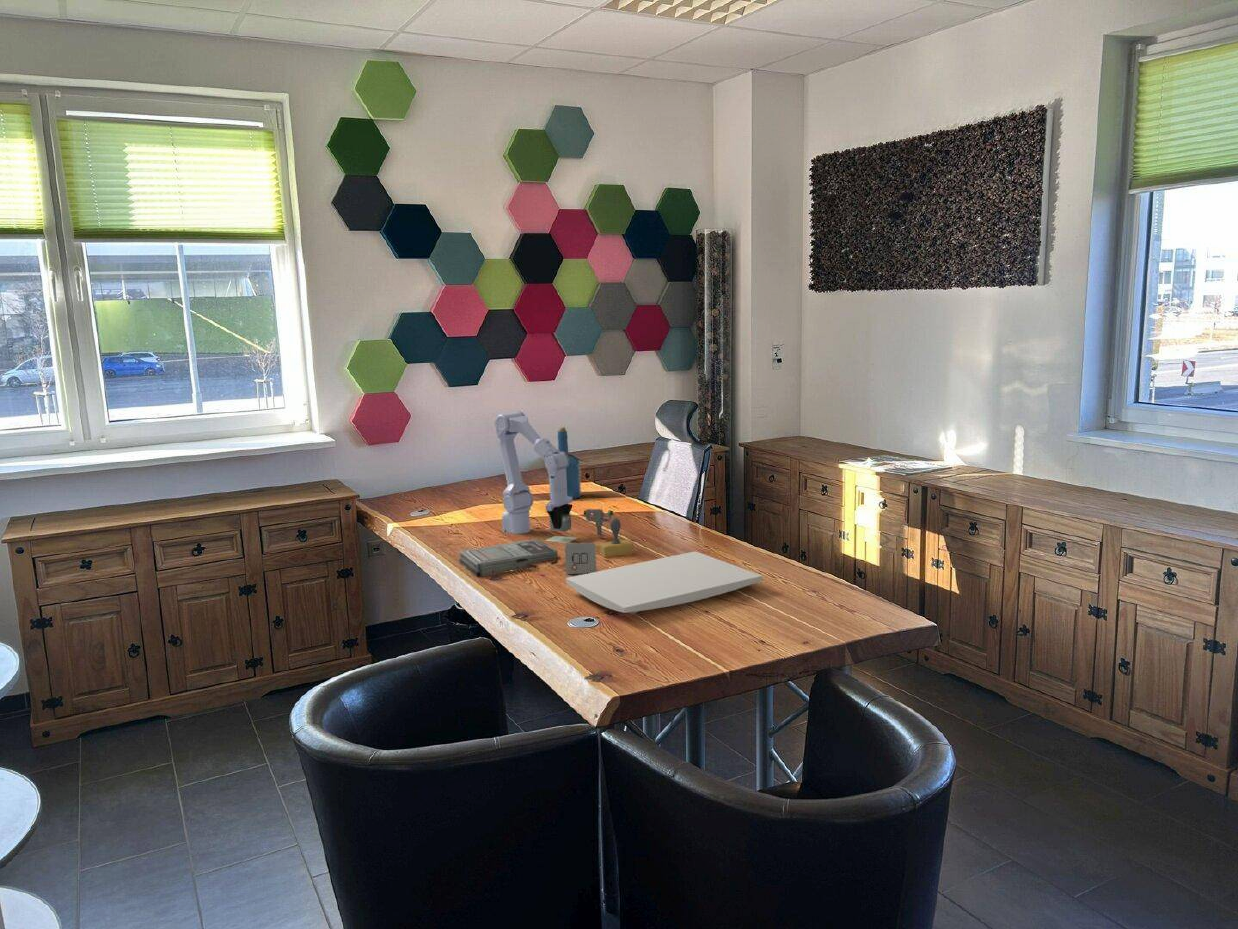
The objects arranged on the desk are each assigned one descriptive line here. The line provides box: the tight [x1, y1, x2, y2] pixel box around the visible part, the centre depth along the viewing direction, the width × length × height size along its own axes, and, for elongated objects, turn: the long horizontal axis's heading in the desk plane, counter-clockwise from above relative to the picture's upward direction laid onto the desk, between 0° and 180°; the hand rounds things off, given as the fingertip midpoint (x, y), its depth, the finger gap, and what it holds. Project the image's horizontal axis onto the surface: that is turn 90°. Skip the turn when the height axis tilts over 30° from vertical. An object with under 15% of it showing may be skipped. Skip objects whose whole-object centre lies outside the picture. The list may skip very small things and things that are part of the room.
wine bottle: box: [548, 426, 582, 500], centre depth 389 cm, size 14×13×30 cm
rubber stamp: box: [598, 517, 634, 558], centre depth 301 cm, size 10×6×12 cm, turn 109°
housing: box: [549, 513, 572, 532], centre depth 316 cm, size 6×4×5 cm, turn 63°
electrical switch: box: [564, 542, 597, 575], centre depth 282 cm, size 9×5×9 cm, turn 90°
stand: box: [544, 535, 578, 544], centre depth 317 cm, size 9×7×2 cm
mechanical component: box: [583, 508, 614, 536], centre depth 322 cm, size 3×10×10 cm, turn 79°
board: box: [565, 551, 763, 615], centre depth 260 cm, size 45×32×5 cm
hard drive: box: [459, 538, 559, 578], centre depth 295 cm, size 18×27×4 cm
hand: (560, 527), depth 316 cm, fingers closed on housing, 4 cm apart
